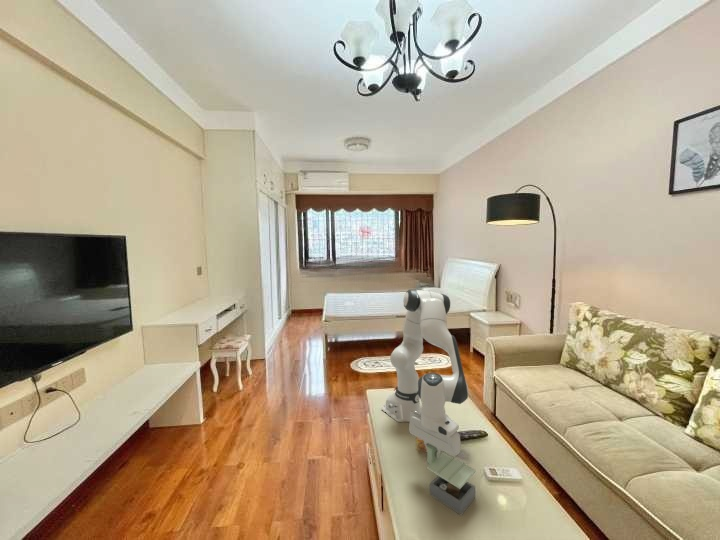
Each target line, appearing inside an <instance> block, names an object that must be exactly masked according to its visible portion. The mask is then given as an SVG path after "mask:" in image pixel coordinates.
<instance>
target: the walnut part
mask: <svg viewBox="0 0 720 540" xmlns="http://www.w3.org/2000/svg"><path fill="white" fill-rule="evenodd" d="M447 493H449V494H450V495H452V496H453V497H455V498H458V499H459V495H460V489H459V488H457V487H456V486H454V485H452V484H451V483H449V482H448V487H447Z"/></svg>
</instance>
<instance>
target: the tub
mask: <svg viewBox="0 0 720 540" xmlns="http://www.w3.org/2000/svg"><path fill="white" fill-rule="evenodd" d="M440 482H445V483H446V484H447V487H448V481H446V480H444V479H443V478H441V477H440V476H438V475H437V476H436V477H435V478H434V479H433V480H432V481H431V482H430V483H429V495H430V496H431V497H433V498H434V499H435V500H438V501H439V502H441V503H442V504H443V505H445V506H446V507H448V508H449V509H450V510H452V511H454V512H455V513H457V515H460V516H462V515H463V513H464V512H466V510H467V508H468V507H469V506H470V505H471V503H472V502H473V501H474V500H475V498H476V486H475V485H474V484H472V483H470V482H469V481H467V482H466V483H465V484H464V485H463V486H462V488H461V489H460V495H459V499H458V498H455V497H453V496H452V495H450V494H449V493H447V492H445V491H444V490H442V489H441V488H439V483H440Z"/></svg>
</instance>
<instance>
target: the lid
mask: <svg viewBox="0 0 720 540" xmlns="http://www.w3.org/2000/svg"><path fill="white" fill-rule="evenodd" d="M436 451H437V448H436V447H434V446H433V445H431V444H430V445H429V446H428V447H427V452H426V455H427V456H426V458H427V459H426V460H427V461H426V462H427V463H428V464H429V465H428V466H427V470H429V472H432V473H434V474H435V475H437V476H440V477H441V478H443V479H444V480H446V481H448V482H449V483H451V484H452V485H454V486H456V487H457V488H459V489H461V488H462V486H463V485H464V484H465V483H466V482H469V480H470V479H471V477H472V476H473V475H474V474H475V473H476V469H475V468H473V467H471V466H469V465H468V464H466V463H465V462H462V461H460V460H458V459H456V458H455V457H453V456H451V455H449V454H447V453H446V452H444V451H442V452H441V456H440V458H439V459H438V458H436V457H435V454H434V453H435V452H436Z"/></svg>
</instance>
